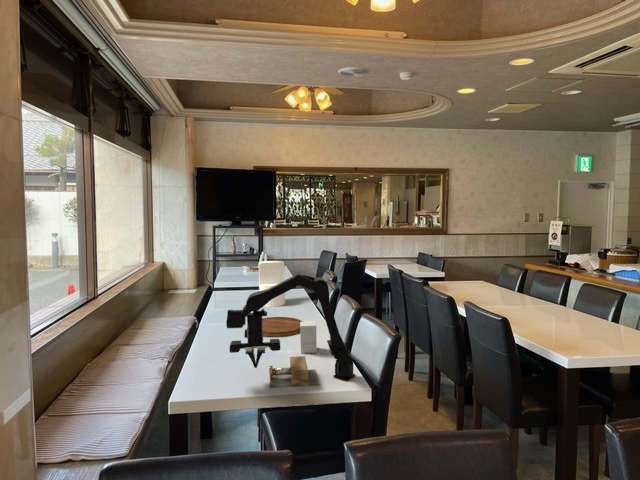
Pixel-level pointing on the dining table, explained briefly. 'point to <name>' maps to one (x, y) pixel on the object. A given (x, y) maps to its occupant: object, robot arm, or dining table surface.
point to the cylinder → (271, 280)
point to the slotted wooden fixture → (296, 375)
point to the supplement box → (308, 337)
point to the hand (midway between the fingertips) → (255, 367)
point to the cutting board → (280, 326)
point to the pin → (278, 371)
